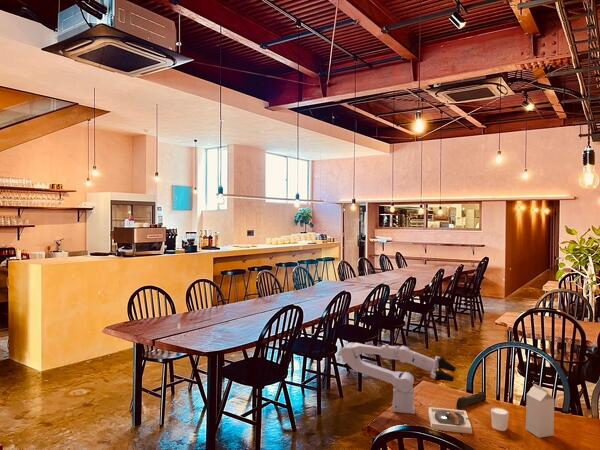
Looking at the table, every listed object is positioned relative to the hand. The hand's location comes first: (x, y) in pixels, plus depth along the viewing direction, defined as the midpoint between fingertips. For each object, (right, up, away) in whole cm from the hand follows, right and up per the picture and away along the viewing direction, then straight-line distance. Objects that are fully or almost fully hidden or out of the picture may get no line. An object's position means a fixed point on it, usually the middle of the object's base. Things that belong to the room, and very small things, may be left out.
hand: (454, 374), depth 191 cm
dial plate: (-4, -19, -4) cm, 20 cm away
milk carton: (+30, -20, -12) cm, 38 cm away
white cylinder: (+16, -20, -8) cm, 27 cm away
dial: (-3, -18, -4) cm, 18 cm away
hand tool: (+12, -19, +13) cm, 26 cm away
